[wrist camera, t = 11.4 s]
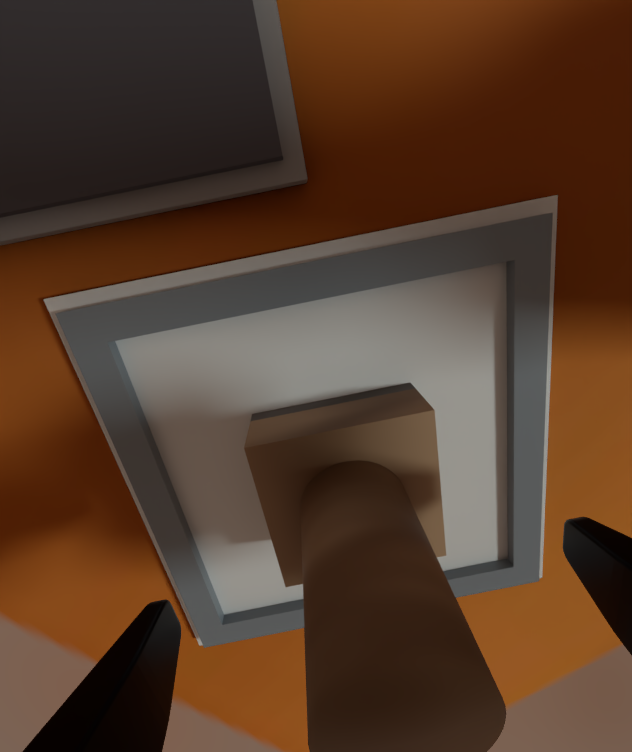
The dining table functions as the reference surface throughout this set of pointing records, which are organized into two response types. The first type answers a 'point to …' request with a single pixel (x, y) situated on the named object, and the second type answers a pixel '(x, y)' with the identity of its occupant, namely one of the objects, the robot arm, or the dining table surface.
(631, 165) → the dining table surface
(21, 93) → the ink pad
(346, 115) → the dining table surface
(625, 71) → the dining table surface
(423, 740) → the stamp
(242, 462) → the print sheet
